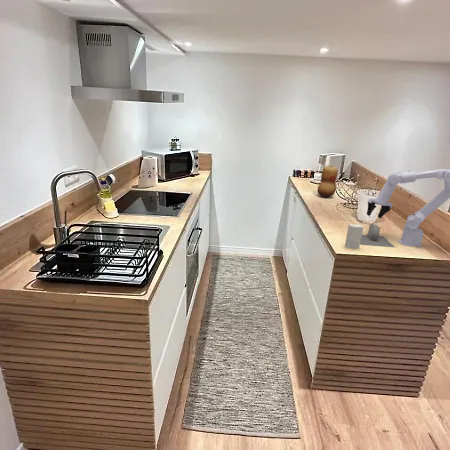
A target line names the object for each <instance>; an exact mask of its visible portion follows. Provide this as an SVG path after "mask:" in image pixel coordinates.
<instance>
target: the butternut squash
mask: <svg viewBox="0 0 450 450" xmlns="http://www.w3.org/2000/svg"><path fill="white" fill-rule="evenodd" d="M322 168H323V169H322V171H321V174H320V175H321V176H320V178H321V179H320V182H319V184H318V186H317V194H318V195H319V196H321V197H322V196H323V198H330V197H332V196H333V195H335V193H336V191H337V190H336V189H337V187H336V182H337V179H338V173H339V171H338V170H339V169H338V168H337V166H334V165H328V164H327V165H325V166H324V167H322Z"/></svg>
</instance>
